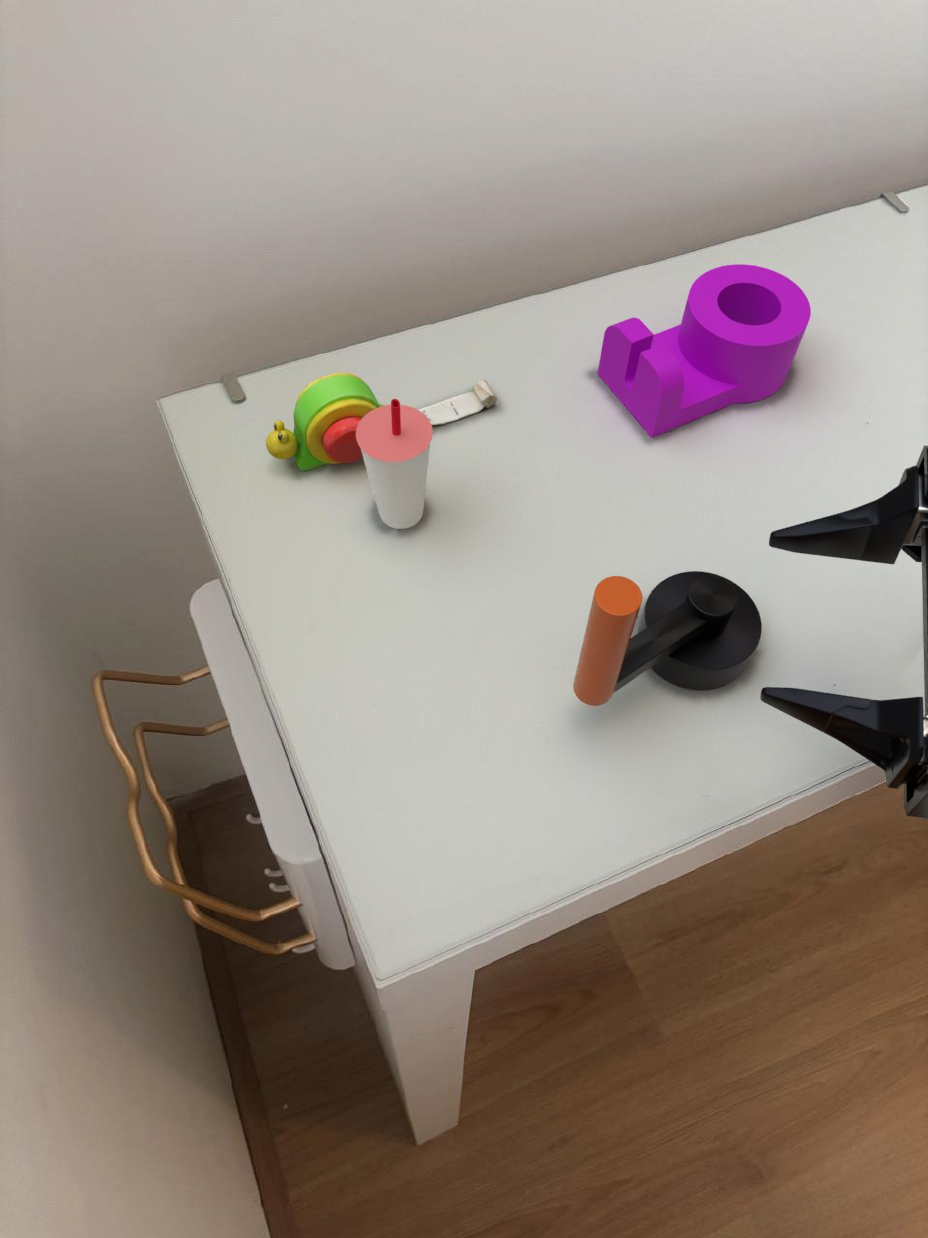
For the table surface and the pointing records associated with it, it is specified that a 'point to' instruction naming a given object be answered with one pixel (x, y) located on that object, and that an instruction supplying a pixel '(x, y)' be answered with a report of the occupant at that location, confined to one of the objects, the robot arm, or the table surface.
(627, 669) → the crank handle
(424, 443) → the cup
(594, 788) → the table surface
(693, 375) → the tape dispenser
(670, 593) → the base
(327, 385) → the toy measuring tape
